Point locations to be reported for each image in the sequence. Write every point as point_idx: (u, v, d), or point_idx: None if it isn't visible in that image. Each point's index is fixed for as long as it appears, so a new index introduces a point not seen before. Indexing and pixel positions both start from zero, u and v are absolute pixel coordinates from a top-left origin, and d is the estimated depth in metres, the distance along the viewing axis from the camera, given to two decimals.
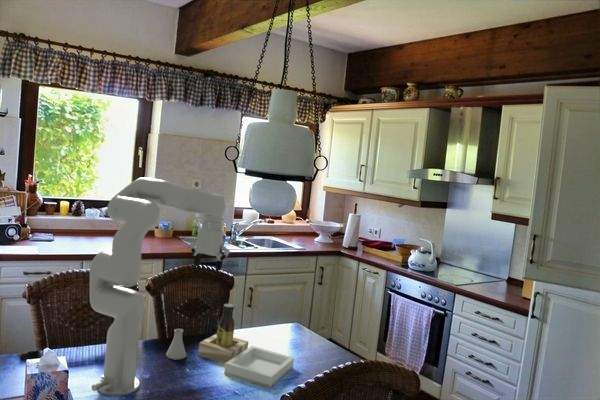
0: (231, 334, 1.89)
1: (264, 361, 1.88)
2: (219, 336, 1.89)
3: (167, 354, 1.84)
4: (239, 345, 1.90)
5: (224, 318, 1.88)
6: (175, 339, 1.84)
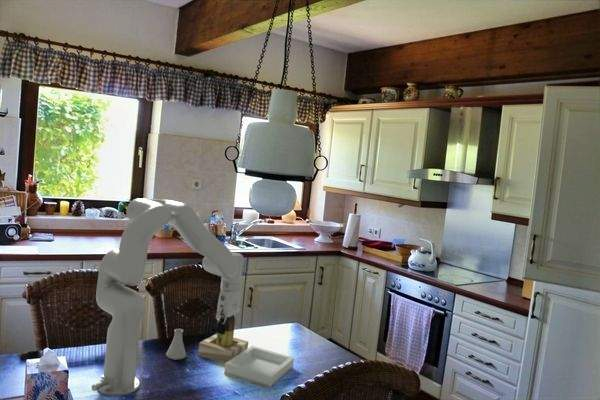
0: (231, 334, 1.89)
1: (264, 361, 1.88)
2: (219, 336, 1.89)
3: (167, 354, 1.84)
4: (239, 345, 1.90)
5: None
6: (175, 339, 1.84)
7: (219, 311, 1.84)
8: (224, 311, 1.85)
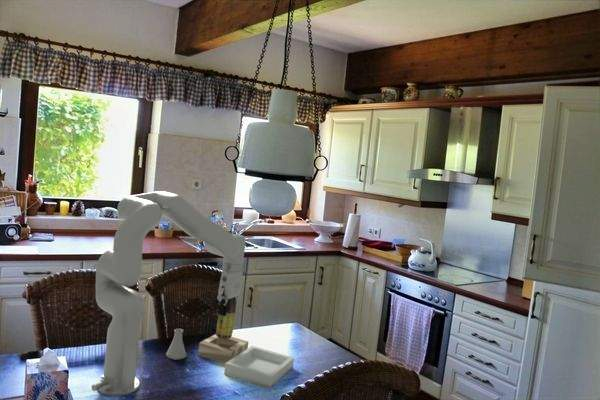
0: (232, 316, 1.88)
1: (264, 361, 1.88)
2: (220, 317, 1.88)
3: (167, 354, 1.84)
4: (239, 345, 1.90)
5: None
6: (175, 339, 1.84)
7: (221, 292, 1.84)
8: (226, 292, 1.84)
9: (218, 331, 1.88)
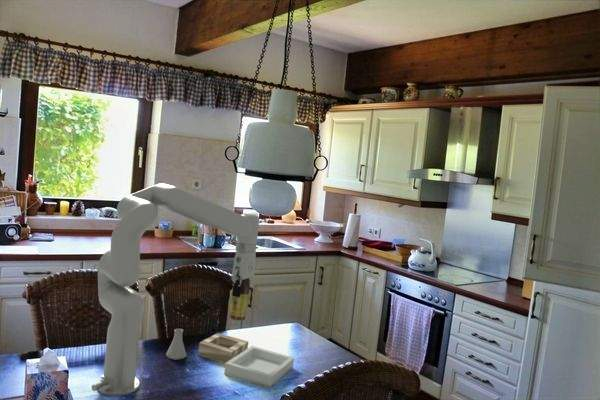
0: (246, 297, 1.85)
1: (264, 361, 1.88)
2: (234, 299, 1.84)
3: (167, 354, 1.84)
4: (239, 345, 1.90)
5: None
6: (175, 339, 1.84)
7: (235, 273, 1.80)
8: (240, 273, 1.81)
9: (232, 313, 1.85)
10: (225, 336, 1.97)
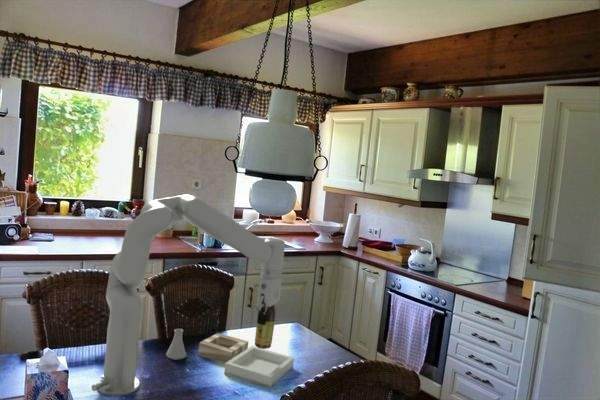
0: (272, 324, 1.78)
1: (264, 361, 1.88)
2: (259, 326, 1.78)
3: (167, 354, 1.84)
4: (239, 345, 1.90)
5: None
6: (175, 339, 1.84)
7: (260, 300, 1.73)
8: (265, 300, 1.74)
9: (257, 341, 1.78)
10: (225, 336, 1.97)
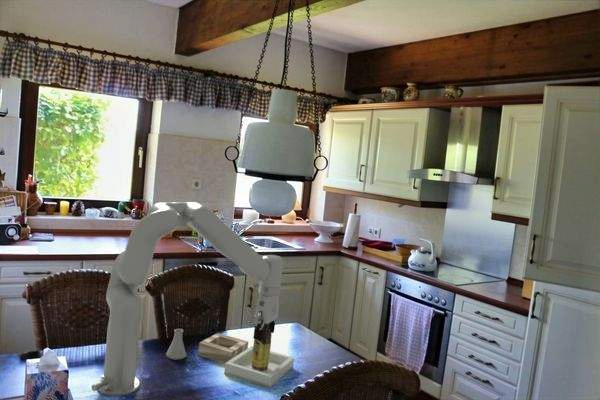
0: (268, 347, 1.79)
1: None
2: (256, 349, 1.78)
3: (167, 354, 1.84)
4: (239, 345, 1.90)
5: None
6: (175, 339, 1.84)
7: (258, 315, 1.73)
8: (264, 314, 1.74)
9: (254, 363, 1.79)
10: (225, 336, 1.97)
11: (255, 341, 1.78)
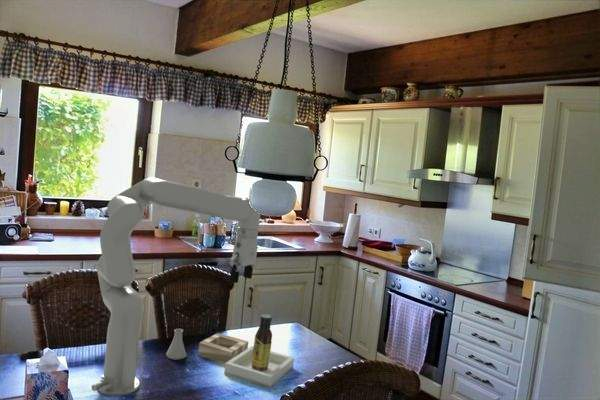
0: (269, 347, 1.79)
1: None
2: (256, 349, 1.78)
3: (167, 354, 1.84)
4: (239, 345, 1.90)
5: (262, 330, 1.78)
6: (175, 339, 1.84)
7: (234, 256, 1.71)
8: (240, 256, 1.72)
9: (254, 363, 1.79)
10: (225, 336, 1.97)
11: (256, 341, 1.78)
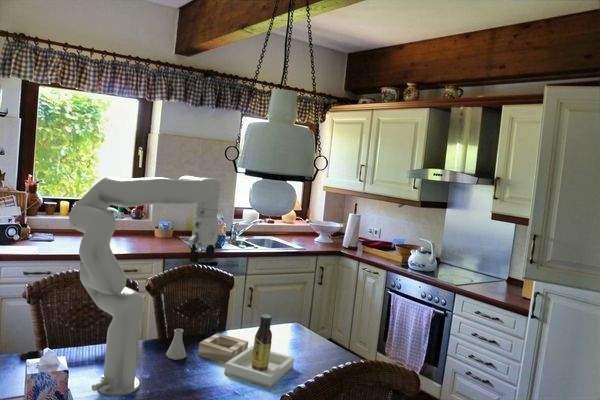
0: (269, 347, 1.79)
1: None
2: (256, 349, 1.78)
3: (167, 354, 1.84)
4: (239, 345, 1.90)
5: (262, 330, 1.78)
6: (175, 339, 1.84)
7: (193, 236, 1.70)
8: (199, 236, 1.71)
9: (254, 363, 1.79)
10: (225, 336, 1.97)
11: (255, 341, 1.78)
